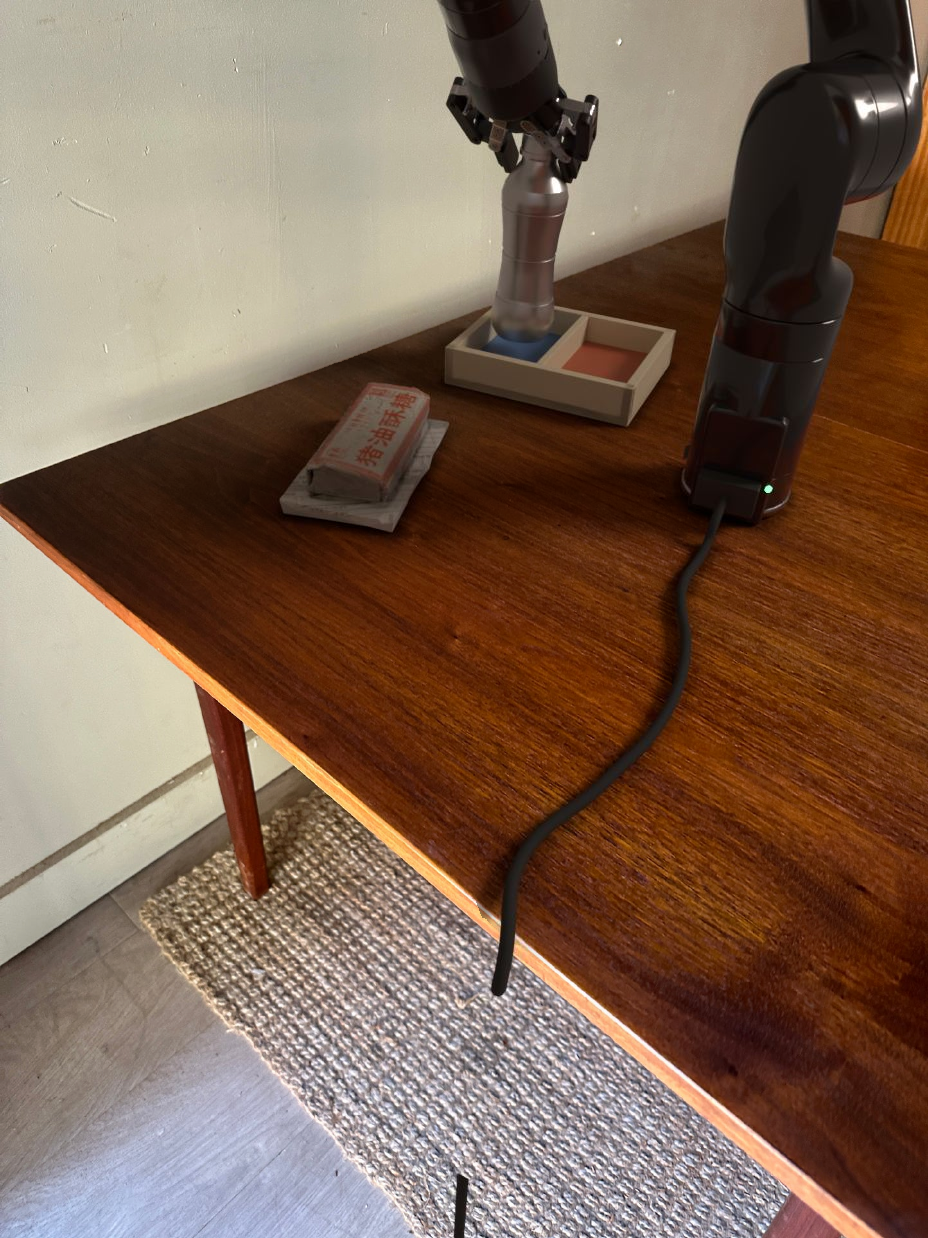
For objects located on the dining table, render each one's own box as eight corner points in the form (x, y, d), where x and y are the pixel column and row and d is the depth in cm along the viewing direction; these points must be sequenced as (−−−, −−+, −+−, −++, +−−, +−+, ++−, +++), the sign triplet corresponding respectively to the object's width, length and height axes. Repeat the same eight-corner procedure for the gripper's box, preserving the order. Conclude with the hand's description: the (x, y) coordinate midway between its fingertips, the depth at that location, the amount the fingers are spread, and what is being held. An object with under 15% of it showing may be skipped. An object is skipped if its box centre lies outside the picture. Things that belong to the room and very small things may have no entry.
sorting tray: (627, 426, 90) (633, 389, 87) (444, 383, 96) (445, 346, 93) (669, 364, 101) (676, 329, 98) (503, 329, 107) (505, 295, 104)
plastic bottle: (545, 355, 95) (573, 147, 82) (482, 344, 96) (500, 137, 83) (555, 330, 100) (583, 130, 87) (495, 320, 101) (513, 120, 88)
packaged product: (348, 371, 86) (450, 386, 85) (351, 417, 89) (449, 432, 88) (273, 466, 73) (392, 485, 71) (279, 516, 76) (393, 536, 74)
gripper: (405, 74, 74) (462, 193, 91) (570, 96, 70) (599, 218, 86) (435, -10, 75) (487, 124, 91) (602, 7, 70) (625, 144, 87)
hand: (541, 169), depth 88 cm, fingers closed on plastic bottle, 5 cm apart
